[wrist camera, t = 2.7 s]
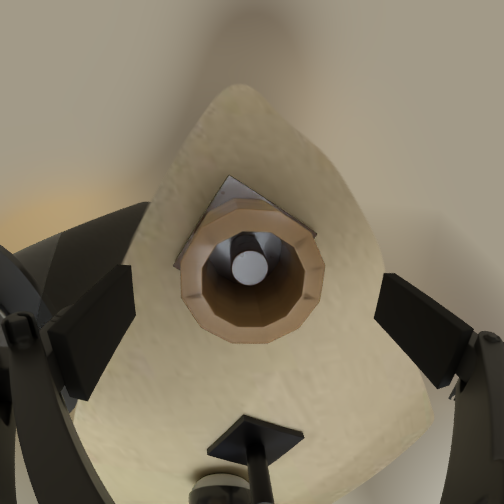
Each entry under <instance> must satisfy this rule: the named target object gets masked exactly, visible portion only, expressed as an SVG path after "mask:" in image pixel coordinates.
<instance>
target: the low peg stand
mask: <svg viewBox="0 0 504 504" xmlns="http://www.w3.org/2000/svg"><path fill="white" fill-rule="evenodd" d="M233 198H243V199H262V200H264V201H266V202H267V203H269V204H270V205H272V206H273V207H275V208H276V209H278V210H279V211H281V212H282V213H284V214H285V215H287V216H288V217H289V218H291V219H292V220H294V221H295V222H297V223H298V224H300V225H301V226H303V227H304V228H306V229H307V230H308V231H310V232H311V233H312V236H313V238H315V237H316V235H317V233H315V232H314V231H313V230H311V229H310V228H308V227H307V226H305V225H304V224H303V223H301V222H300V221H298V220H297V219H295V218H294V217H292V216H291V215H289V214H288V213H287V212H285V211H284V210H282V209H281V208H279V207H278V206H276V205H275V204H273V203H272V202H270V201H269V200H267V199H266V198H264V197H263V196H261V195H260V194H258V193H257V192H255V191H253V190H252V189H250V188H249V187H247V186H246V185H244V184H243V183H241V182H240V181H238V180H236V179H235V178H233V177H232V176H230V175H228V177H227V178H226V180H225V182H224V183H223V185H222V186H221V188H220V189H219V191H218V192H217V194H216V195H215V197H214V199H213V200H212V202H211V203H210V205H209V206H208V208H207V210H206V211H205V213H204V214H203V216H202V218H201V219H200V221H199V223H198V224H197V226H196V227H195V229H194V231H193V232H192V234H191V236H190V237H189V239H188V241H187V242H186V244H185V246H184V247H183V249H182V251H181V252H180V254H179V256H178V258H177V259H176V261H175V263H174V265H173V266H174V267H175V268H177V269H179V270H180V261H181V259H182V257H183V255H184V253H185V251H186V249H187V247H188V246H189V244H190V242H191V240H192V238H193V236H194V234H195V232H196V231H197V229H198V228H199V226H200V224H201V223H202V221H203V220H204V218H205V216H206V215H207V213H208V212H209V211H210V210H212V209H214V208H216V207H218V206H220V205H222V204H223V203H225V202H227V201H229V200H231V199H233ZM281 243H282V242H281V240H280V238H279V237H277V236H275V235H274V234H272V233H269V232H245V231H242V232H240V233H239V234H237V235H235V236H233V237H231V238H229V239H227V240H225V241H223V242H221V243H219V244H217V245H216V247H215V249H214V250H213V252H212V253H211V255H210V257H209V259H210V261H211V263H212V264H213V266H214V268H215V270H216V271H217V273H218V274H219V275H220V276H222V277H224V278H225V279H227V280H229V281H231V282H232V283H234V284H243V285H248V286H250V285H256V284H258V283H260V282H261V281H263V280H264V278H266V277H268V276H269V275H270V274H271V273H272V271H273V270H274V268H275V267H276V265H277V264H278V262H279V261H280V254H281Z"/></svg>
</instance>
